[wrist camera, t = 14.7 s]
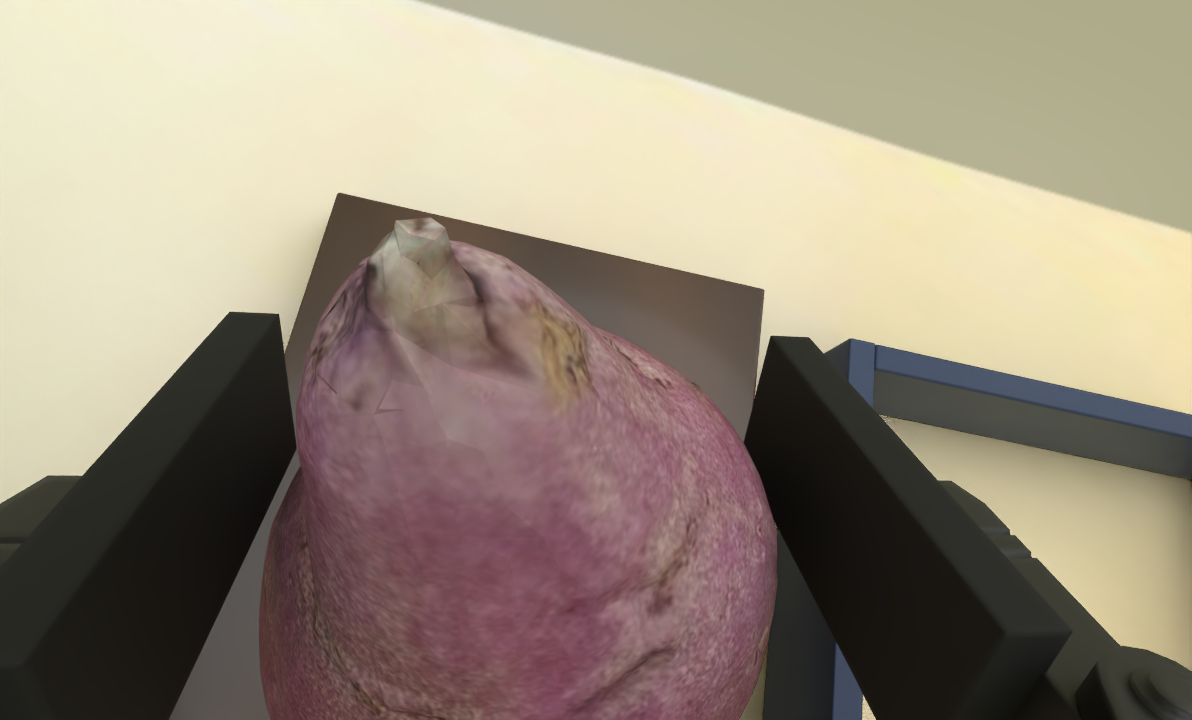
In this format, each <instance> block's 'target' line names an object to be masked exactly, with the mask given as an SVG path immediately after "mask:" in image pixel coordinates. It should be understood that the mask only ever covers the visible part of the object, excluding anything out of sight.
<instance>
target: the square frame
mask: <svg viewBox="0 0 1192 720" xmlns="http://www.w3.org/2000/svg"><path fill="white" fill-rule="evenodd" d="M824 355H825V356H826V357H827V358H828V359H829V360H830V361H831V363H832V364H833V365H834V366H835V367H836V368H837V369H838V370H839V371H840V373H841V374H842V375H843V376H844V377H845V378H846V379H847V380H848V381H849V383H850V384H851V385H852V386H853V387H854V388H855V389H856V390H857V391H858V393H859V394H860V395H861V396H862V397H863V398H864V399H865V400H866V401H867V403H868V404H869V405H870V406H871V407H872V408H873V409H874V410H875V411H876V413H877V414H881V415H886V416H891V417H896V418H900V419H905V420H910V421H915V422H919V423H924V424H929V425H934V426H938V427H943V428H948V429H953V430H957V431H962V432H967V433H972V434H976V435H981V436H986V437H991V438H995V439H1000V440H1005V441H1010V442H1014V443H1019V444H1024V445H1029V446H1034V447H1038V448H1043V449H1048V450H1053V451H1057V452H1062V453H1067V454H1072V455H1076V456H1081V457H1086V458H1091V459H1095V460H1100V461H1105V462H1110V463H1114V464H1119V465H1124V466H1129V467H1133V468H1138V469H1143V470H1148V471H1152V472H1157V473H1162V474H1167V475H1171V476H1176V477H1181V478H1186V479H1190V480H1192V415H1190V414H1186V413H1181V412H1177V411H1172V410H1168V409H1164V408H1159V407H1155V406H1150V405H1146V404H1141V403H1137V402H1132V401H1128V400H1123V399H1119V398H1114V397H1110V396H1105V395H1101V394H1096V393H1092V392H1087V391H1083V390H1078V389H1074V388H1069V387H1065V386H1060V385H1056V384H1051V383H1047V382H1042V381H1038V380H1033V379H1029V378H1024V377H1020V376H1015V375H1011V374H1006V373H1002V372H997V371H993V370H988V369H984V368H979V367H975V366H970V365H966V364H961V363H957V362H952V361H948V360H943V359H939V358H934V357H930V356H925V355H921V354H916V353H912V352H907V351H903V350H898V349H894V348H889V347H885V346H880V345H875V344H874V343H870V342H865V341H861V340H856V339H852V338H851V339H848V340H847V341H845V342H843V343H841V344H840V345H838V346H836V347H835V348H833V349H831V350H829V351H828V352H826V353H824ZM777 577H778V584H777V592H776V599H775V606H774V613H773V619H772V624H771V629H770V634H769V647H768V660H767V673H766V686H765V699H764V712H763V720H862V702H863V693H862V691H861V689H860V687H859V685H858V683H857V681H856V679H855V677H854V675H853V673H852V672H851V670H850V668H849V666H848V664H847V662H846V660H845V658H844V656H843V654H842V652H841V650H840V648H839V646H838V644H837V642H836V640H835V638H834V636H833V635H832V633H831V631H830V629H829V627H828V625H827V623H826V621H825V619H824V617H823V615H822V613H821V611H820V609H819V607H818V605H817V603H816V601H815V599H814V598H813V596H812V594H811V592H810V590H809V588H808V586H807V584H806V582H805V580H804V578H803V576H802V574H801V572H800V570H799V568H798V566H797V564H796V562H795V561H794V559H793V557H792V555H791V553H790V551H789V549H788V547H787V545H786V543H785V541H784V539H783V537H782V535H781V533H780V531H779V529H778V530H777Z"/></svg>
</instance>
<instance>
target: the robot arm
mask: <svg viewBox="0 0 1192 720" xmlns="http://www.w3.org/2000/svg"><path fill="white" fill-rule="evenodd" d="M743 443H744V445H745V447H746V449H747V451H748V453H749V455H750V457H751V459H752V461H753V463H754V465H755V467H756V469H757V471H758V473H759V475H760V478H761V481H762V484H763V487H764V490H765V493H766V497H767V500H768V503H769V506H770V510H771V513H772V516H773V519H774V522H775V523H776V525H777V527H778V529H779V531H780V533H781V535H782V537H783V539H784V541H785V543H786V545H787V547H788V549H789V551H790V553H791V555H792V557H793V559H794V561H795V562H796V564H797V566H798V568H799V570H800V572H801V574H802V576H803V578H804V580H805V582H806V584H807V586H808V588H809V590H810V592H811V594H812V596H813V598H814V599H815V601H816V603H817V605H818V607H819V609H820V611H821V613H822V615H823V617H824V619H825V621H826V623H827V625H828V627H829V629H830V631H831V633H832V635H833V636H834V638H835V640H836V642H837V644H838V646H839V648H840V650H841V652H842V654H843V656H844V658H845V660H846V662H847V664H848V666H849V668H850V670H851V672H852V673H853V675H854V677H855V679H856V681H857V683H858V685H859V687H860V689H861V691H862V693H863V695H864V697H865V699H866V701H867V703H868V705H869V707H870V709H871V711H872V712H873V714H874V716H875V718H876V720H1192V671H1190V670H1188V669H1187V668H1185V667H1184V666H1182V665H1180V664H1179V663H1177V662H1175V661H1173V660H1170V659H1168V658H1165V657H1163V656H1161V655H1158V654H1156V653H1153V652H1151V651H1148V650H1144V649H1138V648H1132V647H1127V646H1120V645H1119V644H1118V643H1117V642H1116V641H1115V640H1114V639H1113V638H1112V637H1111V636H1110V635H1109V634H1108V633H1107V632H1106V631H1105V629H1104V628H1103V627H1102V626H1101V625H1100V624H1099V623H1098V622H1097V621H1096V620H1095V619H1094V618H1093V617H1092V616H1091V615H1090V614H1089V613H1088V612H1087V611H1086V609H1085V608H1084V607H1083V606H1082V605H1081V604H1080V603H1079V602H1078V601H1077V600H1076V599H1075V598H1074V597H1073V596H1072V595H1071V594H1070V593H1069V592H1068V591H1067V590H1066V588H1065V587H1064V586H1063V585H1062V584H1061V583H1060V582H1059V581H1058V580H1057V579H1056V578H1055V577H1054V576H1053V575H1052V574H1051V573H1050V572H1049V571H1048V570H1047V569H1046V567H1045V566H1044V565H1043V564H1042V563H1041V562H1040V561H1039V560H1038V559H1037V558H1032V557H1031V552H1030V551H1029V550H1028V549H1027V547H1026V546H1025V545H1024V544H1023V543H1022V542H1021V541H1020V540H1019V539H1018V538H1017V537H1016V536H1015V535H1010V530H1009V529H1008V528H1007V526H1006V525H1005V524H1004V523H1003V522H1002V521H1001V520H1000V519H999V518H998V517H997V516H996V515H995V514H994V513H993V512H992V511H991V510H990V509H989V508H988V507H987V505H986V504H985V503H983V502H982V501H980V500H979V499H977V498H976V497H974V496H973V495H971V494H970V493H968V492H967V491H965V490H964V489H962V488H961V487H959V486H958V485H956V484H955V483H953V482H952V481H938V480H937V479H936V478H935V477H934V476H933V475H932V474H931V473H930V472H929V470H928V469H927V468H926V467H925V466H924V465H923V464H922V463H921V462H920V460H919V459H918V458H917V457H916V456H915V455H914V454H913V453H912V452H911V450H910V449H909V448H908V447H907V446H906V445H905V444H904V443H903V441H902V440H901V439H900V438H899V437H898V436H897V435H896V434H895V433H894V431H893V430H892V429H891V428H890V427H889V426H888V425H887V424H886V423H885V421H884V420H883V419H882V418H881V417H880V416H879V415H878V414H877V413H876V411H875V410H874V409H873V408H872V407H871V406H870V405H869V404H868V403H867V401H866V400H865V399H864V398H863V397H862V396H861V395H860V394H859V393H858V391H857V390H856V389H855V388H854V387H853V386H852V385H851V384H850V383H849V381H848V380H847V379H846V378H845V377H844V376H843V375H842V374H841V373H840V371H839V370H838V369H837V368H836V367H835V366H834V365H833V364H832V363H831V361H830V360H829V359H828V358H827V357H826V356H825V355H824V354H823V352H822V351H821V350H820V349H819V348H818V347H817V346H816V345H815V344H814V342H813V341H812V340H811V339H810V338H809V337H787V336H771V337H770V341H769V345H768V349H767V352H766V356H765V360H764V364H763V368H762V372H761V376H760V380H759V384H758V388H757V391H756V395H755V399H754V403H753V407H752V411H751V415H750V419H749V423H748V426H747V430H746V434H745V438H744V442H743ZM296 449H297V445H296V438H295V430H294V423H293V415H292V408H291V400H290V393H289V386H288V378H287V371H286V363H285V356H284V348H283V341H282V333H281V326H280V318H279V314H268V313H245V312H229V313H228V314H227V315H226V317H225V318H224V319H223V320H222V321H221V322H220V323H219V324H218V325H217V327H216V328H215V329H214V330H213V331H212V332H211V333H210V334H209V336H208V337H207V338H206V339H205V340H204V341H203V342H202V343H201V344H200V346H199V347H198V348H197V349H196V350H195V351H194V352H193V353H192V354H191V356H190V357H189V358H188V359H187V360H186V361H185V362H184V363H183V364H182V366H181V367H180V368H179V369H178V370H177V371H176V372H175V373H174V375H173V376H172V377H171V378H170V379H169V380H168V381H167V382H166V383H165V385H164V386H163V387H162V388H161V389H160V390H159V391H158V392H157V393H156V395H155V396H154V397H153V398H152V399H151V400H150V401H149V402H148V403H147V405H146V406H145V407H144V408H143V409H142V410H141V411H140V412H139V413H138V415H137V416H136V417H135V418H134V419H133V420H132V421H131V422H130V424H129V425H128V426H127V427H126V428H125V429H124V430H123V431H122V432H121V434H120V435H119V436H118V437H117V438H116V439H115V440H114V441H113V442H112V444H111V445H110V446H109V447H108V448H107V449H106V450H105V451H104V452H103V454H102V455H101V456H100V457H99V458H98V459H97V460H96V461H95V463H94V464H93V465H92V466H91V467H90V468H89V469H88V470H87V471H86V473H85V474H84V475H83V476H47V477H45V478H43V479H42V480H40V481H38V482H36V483H35V484H33V485H31V486H30V487H28V488H26V489H25V490H23V491H21V492H20V493H18V494H16V495H15V496H13V497H11V498H9V499H8V500H6V501H4V502H3V503H1V504H0V720H169V718H170V716H171V714H172V712H173V710H174V708H175V706H176V703H177V701H178V699H179V697H180V695H181V693H182V691H183V689H184V687H185V684H186V682H187V680H188V678H189V676H190V674H191V672H192V670H193V667H194V665H195V663H196V661H197V659H198V657H199V655H200V653H201V651H202V648H203V646H204V644H205V642H206V640H207V638H208V636H209V634H210V631H211V629H212V627H213V625H214V623H215V621H216V619H217V617H218V614H219V612H220V610H221V608H222V606H223V604H224V602H225V600H226V598H227V595H228V593H229V591H230V589H231V587H232V585H233V583H234V581H235V578H236V576H237V574H238V572H239V570H240V568H241V566H242V564H243V561H244V559H245V557H246V555H247V553H248V551H249V549H250V547H251V545H252V542H253V540H254V538H255V536H256V534H257V532H258V530H259V528H260V525H261V523H262V521H263V519H264V517H265V515H266V513H267V511H268V509H269V506H270V504H271V502H272V500H273V498H274V496H275V494H276V492H277V489H278V487H279V485H280V483H281V481H282V479H283V477H284V475H285V472H286V470H287V468H288V466H289V464H290V462H291V460H292V458H293V456H294V453H295V451H296Z"/></svg>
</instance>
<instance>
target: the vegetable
mask: <svg viewBox="0 0 1192 720" xmlns="http://www.w3.org/2000/svg"><path fill="white" fill-rule="evenodd" d="M295 410H296V434H297V451H298V456H299V460H300V465H301V466H300V467H299V469H298V471H297V473H296V474H295V476H294V478H293V480H292V482H291V484H290V486H289V488H288V490H287V492H286V494H285V497H284V499H283V501H282V503H281V505H280V507H279V510H278V512H277V514H276V516H275V518H274V520H273V523H272V526H271V530H270V535H269V540H268V545H267V550H266V556H265V561H264V567H263V575H262V585H261V597H260V608H259V654H260V673H261V679H262V686H263V692H264V697H265V702H266V706H267V710H268V713H269V716H270V719H271V720H739V719H740V717H741V715H742V713H743V711H744V709H745V707H746V705H747V703H748V701H749V699H750V697H751V695H752V693H753V691H754V688H755V685H756V683H757V680H758V677H759V674H760V671H761V667H762V663H763V659H764V655H765V651H766V647H767V643H768V639H769V634H770V629H771V624H772V619H773V613H774V606H775V599H776V592H777V584H778V577H777V529H776V526H775V523H774V519H773V516H772V513H771V510H770V506H769V503H768V500H767V497H766V493H765V490H764V487H763V484H762V481H761V478H760V475H759V473H758V471H757V469H756V467H755V465H754V463H753V461H752V459H751V457H750V455H749V453H748V451H747V449H746V447H745V445H744V443H743V441H742V440H741V438H740V437H739V435H738V434H737V432H736V431H735V429H734V428H733V426H732V424H731V423H730V422H729V420H728V419H727V418H726V417H725V416H724V414H723V413H722V412H721V411H720V410H719V408H718V407H717V406H716V405H715V404H714V402H713V401H712V400H711V399H710V397H709V396H708V395H707V394H706V393H704V392H703V391H702V389H701V388H700V387H699V385H697V384H695V383H693V382H692V381H690V380H689V379H688V378H686V377H685V376H684V375H682V374H681V373H680V372H679V371H677V370H676V369H674V368H673V367H671V366H670V365H668V364H667V363H665V362H664V361H662V360H661V359H659V358H658V357H656V356H655V355H653V354H651V353H650V352H648V351H646V350H645V349H643V348H641V347H639V346H637V345H635V344H633V343H631V342H629V341H627V340H625V339H623V338H621V337H619V336H616V335H614V334H612V333H610V332H608V331H606V330H603V329H600V328H597V327H594V326H592V325H591V324H590V323H589V322H588V321H587V320H586V319H585V318H584V317H583V316H582V315H581V314H580V313H578V312H577V311H576V310H575V309H574V308H572V307H571V306H570V305H569V304H568V303H566V302H565V301H564V300H563V299H562V298H561V297H559V296H558V295H557V294H556V293H555V292H553V291H552V290H551V289H550V288H549V287H547V286H546V285H545V284H544V283H543V282H541V281H540V280H538V279H537V278H535V277H534V276H533V275H531V274H530V273H528V272H527V271H525V270H524V269H522V268H521V267H519V266H518V265H516V264H515V263H513V262H512V261H510V260H509V259H508V258H506V257H505V256H502V255H499V254H496V253H493V252H490V251H487V250H484V249H481V248H479V247H476V246H473V245H470V244H467V243H464V242H459V241H451V240H449V237H448V234H447V231H446V228H445V227H444V226H442V225H441V224H439V223H438V222H436V221H435V220H433V219H432V218H431V217H430V218H419V219H408V220H397V221H395V225H394V230H393V231H392V232H390V233H389V234H388V235H386V236H385V237H384V238H382V239H381V240H380V242H379V243H378V245H377V246H376V248H375V249H374V251H373V253H372V254H371V256H369V257H367V258H365V259H363V260H362V261H361V263H360V264H359V265H358V266H357V267H356V268H355V270H354V271H353V272H352V273H351V274H350V276H349V277H348V278H347V279H346V280H345V282H344V283H343V284H342V285H341V286H340V287H339V289H338V290H337V292H336V293H335V295H334V297H333V298H332V300H331V301H330V303H329V305H328V306H327V308H326V310H325V311H324V313H323V314H322V316H321V318H320V320H319V323H318V326H317V328H316V331H315V334H314V336H313V339H312V342H311V344H310V347H309V349H308V352H307V355H306V357H305V363H304V368H303V373H302V378H301V383H300V388H299V394H298V399H297V404H296V409H295Z"/></svg>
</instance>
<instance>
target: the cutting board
mask: <svg viewBox="0 0 1192 720" xmlns="http://www.w3.org/2000/svg"><path fill="white" fill-rule="evenodd" d="M430 217H431V218H432V219H433V220H435V221H436V222H438V223H439V224H441V225H442V226H444V227H445V228H446V231H447V234H448V237H449V240H451V241H459V242H464V243H467V244H470V245H473V246H476V247H479V248H481V249H484V250H487V251H490V252H493V253H496V254H499V255H502V256H505V257H506V258H508V259H509V260H510V261H512V262H513V263H515V264H516V265H518V266H519V267H521V268H522V269H524V270H525V271H527V272H528V273H530V274H531V275H533V276H534V277H535V278H537V279H538V280H540V281H541V282H543V283H544V284H545V285H546V286H547V287H549V288H550V289H551V290H552V291H553V292H555V293H556V294H557V295H558V296H559V297H561V298H562V299H563V300H564V301H565V302H566V303H568V304H569V305H570V306H571V307H572V308H574V309H575V310H576V311H577V312H578V313H580V314H581V315H582V316H583V317H584V318H585V319H586V320H587V321H588V322H589V323H590V324H591V325H592V326H594V327H597V328H600V329H603V330H606V331H608V332H610V333H612V334H614V335H616V336H619V337H621V338H623V339H625V340H627V341H629V342H631V343H633V344H635V345H637V346H639V347H641V348H643V349H645V350H646V351H648V352H650V353H651V354H653V355H655V356H656V357H658V358H659V359H661V360H662V361H664V362H665V363H667V364H668V365H670V366H671V367H673V368H674V369H676V370H677V371H679V372H680V373H681V374H682V375H684V376H685V377H686V378H688V379H689V380H690V381H692V382H693V383H695V384H697V385H699V387H700V388H701V389H702V391H703V392H704V393H706V394H707V395H708V396H709V397H710V399H711V400H712V401H713V402H714V404H715V405H716V406H717V407H718V408H719V410H720V411H721V412H722V413H723V414H724V416H725V417H726V418H727V419H728V420H729V422H730V423H731V424H732V426H733V428H734V429H735V431H736V432H737V434H738V435H739V437H740V438H741V440H742V441H743V442H744V438H745V434H746V430H747V426H748V423H749V419H750V415H751V411H752V407H753V403H754V397H755V386H756V376H757V365H758V354H759V344H760V333H761V322H762V311H763V301H764V290H763V289H760V288H755V287H751V286H747V285H742V284H738V283H733V282H729V281H725V280H720V279H716V278H711V277H707V276H703V275H698V274H694V273H689V272H685V271H681V270H676V269H672V268H668V267H663V266H659V265H654V264H650V263H646V262H641V261H637V260H632V259H628V258H624V257H619V256H615V255H610V254H606V253H602V252H597V251H593V250H588V249H584V248H580V247H575V246H571V245H567V244H562V243H558V242H553V241H549V240H545V239H540V238H536V237H531V236H527V235H523V234H518V233H514V232H509V231H505V230H501V229H496V228H492V227H487V226H483V225H479V224H474V223H470V222H466V221H461V220H457V219H452V218H448V217H444V216H439V215H435V214H430V213H426V212H422V211H417V210H413V209H408V208H404V207H400V206H395V205H391V204H386V203H382V202H378V201H373V200H369V199H365V198H360V197H356V196H351V195H347V194H343V193H338V194H337V197H336V200H335V203H334V206H333V209H332V212H331V215H330V218H329V221H328V224H327V227H326V230H325V233H324V236H323V239H322V242H321V245H320V248H319V251H318V254H317V257H316V260H315V263H314V266H313V269H312V272H311V275H310V278H309V281H308V284H307V287H306V290H305V293H304V296H303V300H302V303H301V306H300V309H299V312H298V315H297V318H296V321H295V324H294V327H293V330H292V333H291V336H290V339H289V342H288V345H287V348H286V351H285V354H284V356H285V363H286V371H287V378H288V386H289V393H290V400H291V408H292V415H293V423H294V430H295V438H296V445H297V434H296V410H295V409H296V404H297V399H298V394H299V388H300V383H301V378H302V373H303V368H304V363H305V357H306V355H307V352H308V349H309V347H310V344H311V342H312V339H313V336H314V334H315V331H316V328H317V326H318V323H319V320H320V318H321V316H322V314H323V313H324V311H325V310H326V308H327V306H328V305H329V303H330V301H331V300H332V298H333V297H334V295H335V293H336V292H337V290H338V289H339V287H340V286H341V285H342V284H343V283H344V282H345V280H346V279H347V278H348V277H349V276H350V274H351V273H352V272H353V271H354V270H355V268H356V267H357V266H358V265H359V264H360V263H361V261H362V260H363V259H365V258H367V257H369V256H371V254H372V253H373V251H374V249H375V248H376V246H377V245H378V243H379V242H380V240H381V239H382V238H384V237H385V236H386V235H388V234H389V233H390V232H392V231H393V230H394V225H395V221H397V220H408V219H419V218H430ZM300 466H301V465H300V460H299V456H298V451H297V449H296V451H295V453H294V456H293V458H292V460H291V462H290V464H289V466H288V468H287V470H286V472H285V475H284V477H283V479H282V481H281V483H280V485H279V487H278V489H277V492H276V494H275V496H274V498H273V500H272V502H271V504H270V506H269V509H268V511H267V513H266V515H265V517H264V519H263V521H262V523H261V525H260V528H259V530H258V532H257V534H256V536H255V538H254V540H253V542H252V545H251V547H250V549H249V551H248V553H247V555H246V557H245V559H244V561H243V564H242V566H241V568H240V570H239V572H238V574H237V576H236V578H235V581H234V583H233V585H232V587H231V589H230V591H229V593H228V595H227V598H226V600H225V602H224V604H223V606H222V608H221V610H220V612H219V614H218V617H217V619H216V621H215V623H214V625H213V627H212V629H211V631H210V634H209V636H208V638H207V640H206V642H205V644H204V646H203V648H202V651H201V653H200V655H199V657H198V659H197V661H196V663H195V665H194V667H193V670H192V672H191V674H190V676H189V678H188V680H187V682H186V684H185V687H184V689H183V691H182V693H181V695H180V697H179V699H178V701H177V703H176V706H175V708H174V710H173V712H172V714H171V716H170V718H169V720H271V719H270V716H269V713H268V710H267V706H266V702H265V697H264V692H263V686H262V679H261V673H260V654H259V608H260V597H261V585H262V575H263V567H264V561H265V556H266V550H267V545H268V540H269V535H270V530H271V526H272V523H273V520H274V518H275V516H276V514H277V512H278V510H279V507H280V505H281V503H282V501H283V499H284V497H285V494H286V492H287V490H288V488H289V486H290V484H291V482H292V480H293V478H294V476H295V474H296V473H297V471H298V469H299V467H300Z"/></svg>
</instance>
